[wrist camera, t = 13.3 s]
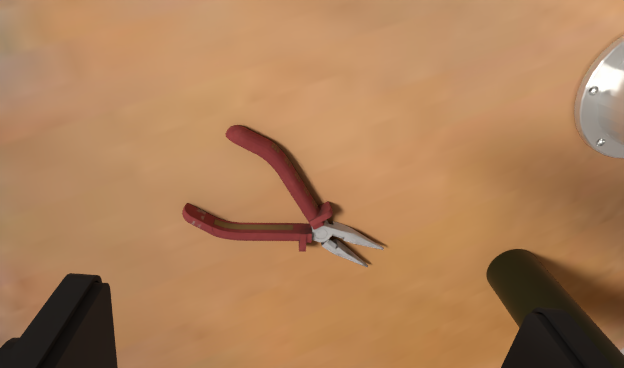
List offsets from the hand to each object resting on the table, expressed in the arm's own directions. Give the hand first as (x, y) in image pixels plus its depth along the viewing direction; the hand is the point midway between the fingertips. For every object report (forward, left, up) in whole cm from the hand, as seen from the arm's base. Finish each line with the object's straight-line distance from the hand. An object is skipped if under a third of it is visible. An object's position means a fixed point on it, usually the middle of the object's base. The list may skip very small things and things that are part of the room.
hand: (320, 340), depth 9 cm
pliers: (0, +15, -31) cm, 34 cm away
